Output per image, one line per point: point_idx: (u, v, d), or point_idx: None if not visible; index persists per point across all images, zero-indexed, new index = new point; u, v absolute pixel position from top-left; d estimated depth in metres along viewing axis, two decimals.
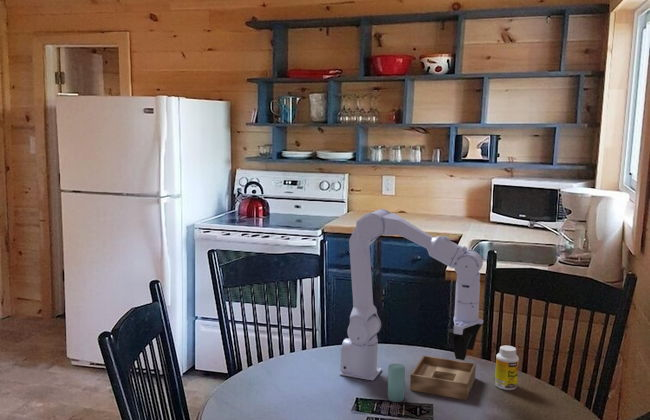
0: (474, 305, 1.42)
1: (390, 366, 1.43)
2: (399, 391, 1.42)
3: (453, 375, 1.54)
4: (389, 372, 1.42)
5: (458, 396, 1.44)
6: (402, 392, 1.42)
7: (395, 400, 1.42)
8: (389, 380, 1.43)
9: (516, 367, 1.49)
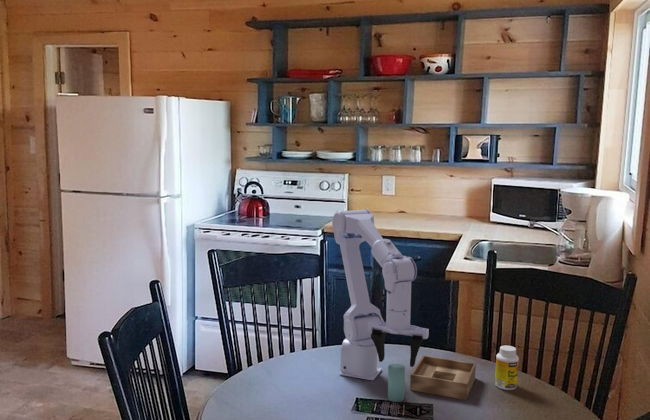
0: (388, 311, 1.40)
1: (390, 366, 1.43)
2: (399, 391, 1.42)
3: (453, 375, 1.54)
4: (389, 372, 1.42)
5: (458, 396, 1.44)
6: (402, 392, 1.42)
7: (395, 400, 1.42)
8: (389, 380, 1.43)
9: (516, 367, 1.49)
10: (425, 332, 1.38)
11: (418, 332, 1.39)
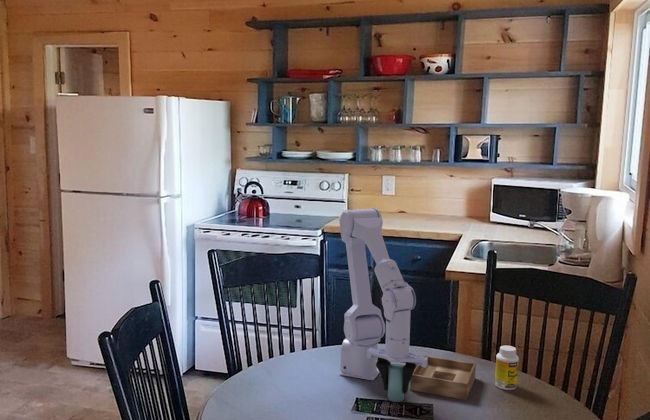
0: (388, 340, 1.41)
1: (390, 366, 1.43)
2: (399, 391, 1.42)
3: (453, 375, 1.54)
4: (389, 372, 1.42)
5: (458, 396, 1.44)
6: (402, 392, 1.42)
7: (395, 400, 1.42)
8: (389, 380, 1.43)
9: (516, 367, 1.49)
10: (424, 361, 1.39)
11: (417, 361, 1.40)
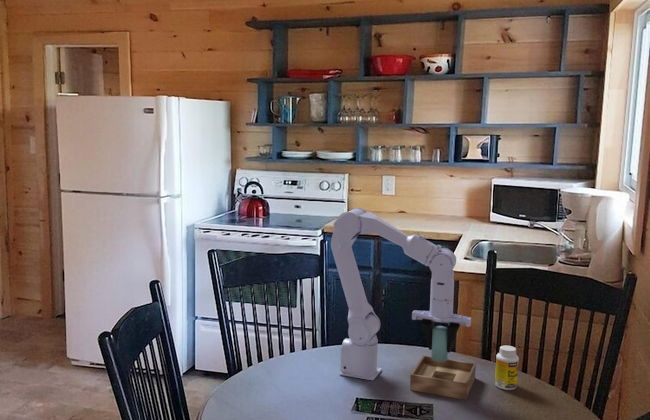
0: (433, 300, 1.47)
1: (434, 328, 1.49)
2: (442, 352, 1.48)
3: (453, 375, 1.54)
4: (433, 333, 1.49)
5: (458, 396, 1.44)
6: (445, 353, 1.48)
7: (438, 360, 1.48)
8: (433, 341, 1.49)
9: (516, 367, 1.49)
10: (468, 320, 1.46)
11: (461, 320, 1.46)
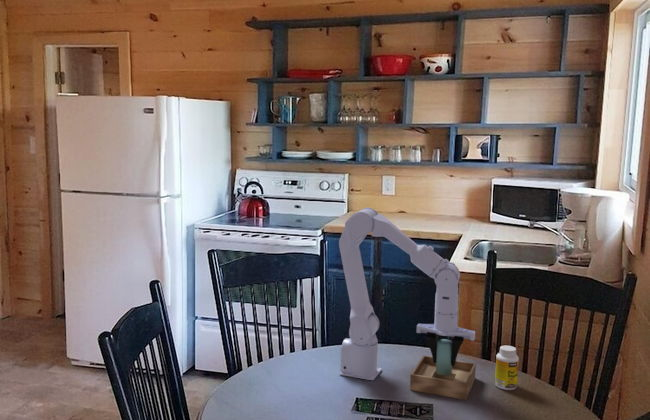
0: (437, 314, 1.49)
1: (438, 341, 1.51)
2: (446, 365, 1.50)
3: (453, 375, 1.54)
4: (437, 347, 1.50)
5: (458, 396, 1.44)
6: (449, 366, 1.50)
7: (443, 373, 1.50)
8: (437, 354, 1.50)
9: (516, 367, 1.49)
10: (472, 334, 1.47)
11: (465, 334, 1.48)
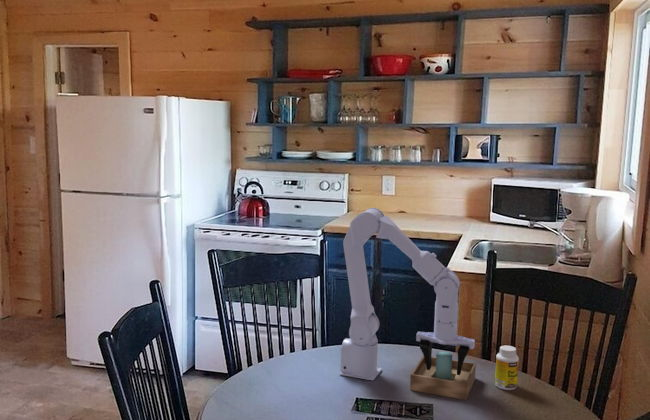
0: (437, 323, 1.49)
1: (438, 353, 1.52)
2: (446, 377, 1.50)
3: (453, 375, 1.54)
4: (437, 359, 1.51)
5: (458, 396, 1.44)
6: (449, 379, 1.50)
7: None
8: (437, 367, 1.51)
9: (516, 367, 1.49)
10: (472, 343, 1.48)
11: (465, 342, 1.48)
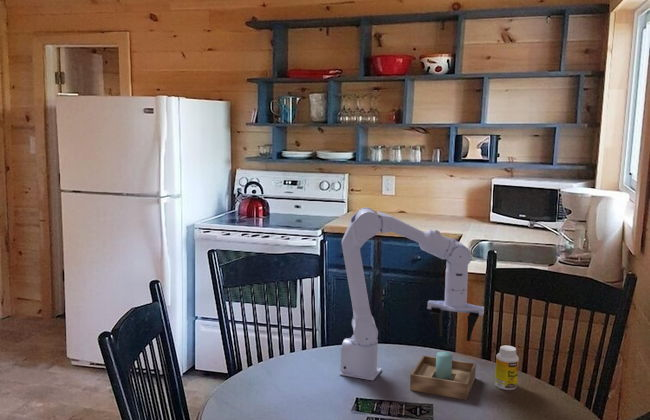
0: (447, 291, 1.55)
1: (438, 354, 1.52)
2: (446, 377, 1.50)
3: (453, 375, 1.54)
4: (437, 359, 1.51)
5: (458, 396, 1.44)
6: (449, 379, 1.50)
7: None
8: (437, 367, 1.51)
9: (516, 367, 1.49)
10: (481, 309, 1.53)
11: (475, 309, 1.53)
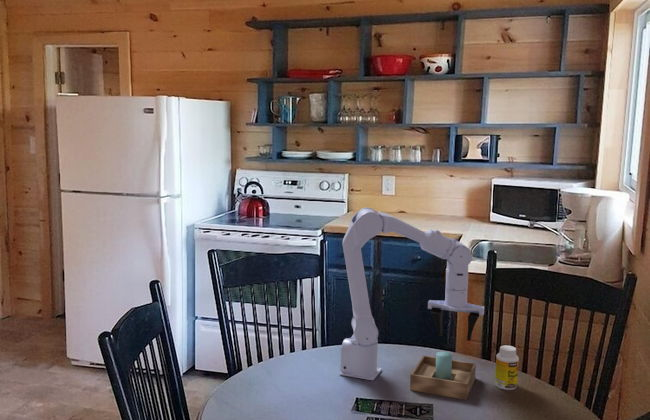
0: (448, 290, 1.55)
1: (438, 353, 1.52)
2: (445, 377, 1.50)
3: (453, 375, 1.54)
4: (437, 359, 1.51)
5: (458, 396, 1.44)
6: (449, 378, 1.50)
7: None
8: (437, 367, 1.51)
9: (516, 367, 1.49)
10: (481, 309, 1.54)
11: (475, 309, 1.54)
